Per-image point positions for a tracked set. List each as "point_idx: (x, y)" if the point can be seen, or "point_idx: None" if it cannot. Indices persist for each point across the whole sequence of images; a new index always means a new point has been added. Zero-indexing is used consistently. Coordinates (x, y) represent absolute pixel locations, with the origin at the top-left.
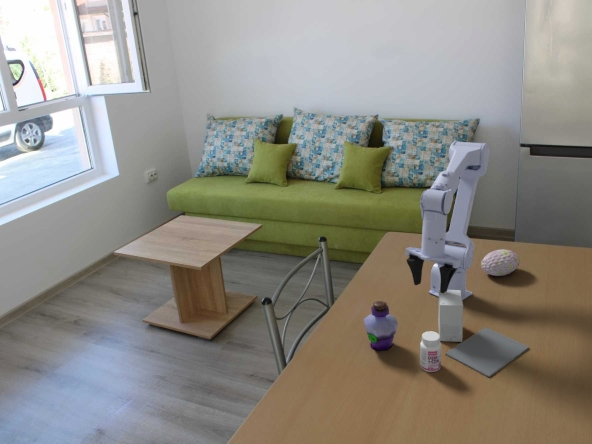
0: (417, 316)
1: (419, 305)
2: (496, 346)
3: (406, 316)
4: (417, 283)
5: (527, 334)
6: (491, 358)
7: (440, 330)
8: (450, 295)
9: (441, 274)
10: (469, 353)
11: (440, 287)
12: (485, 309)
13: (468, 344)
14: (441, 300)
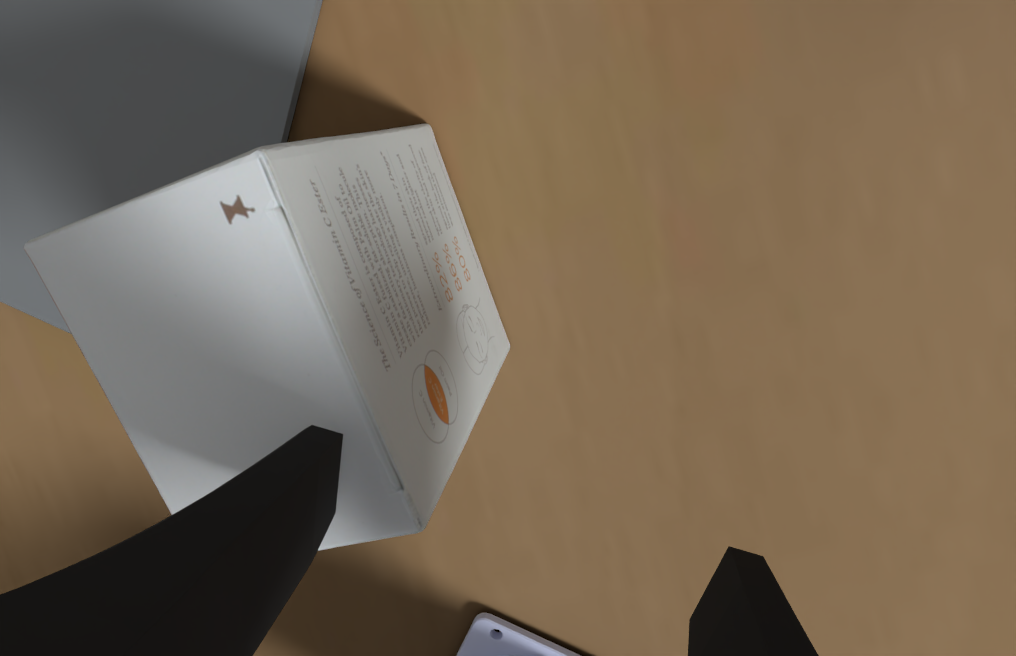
0: (694, 403)
1: (719, 548)
2: (77, 202)
3: (783, 378)
4: (720, 584)
5: (14, 406)
6: (43, 42)
7: (391, 128)
8: (239, 429)
9: (90, 643)
10: (181, 37)
11: (300, 471)
12: (299, 594)
13: (229, 152)
14: (291, 282)
